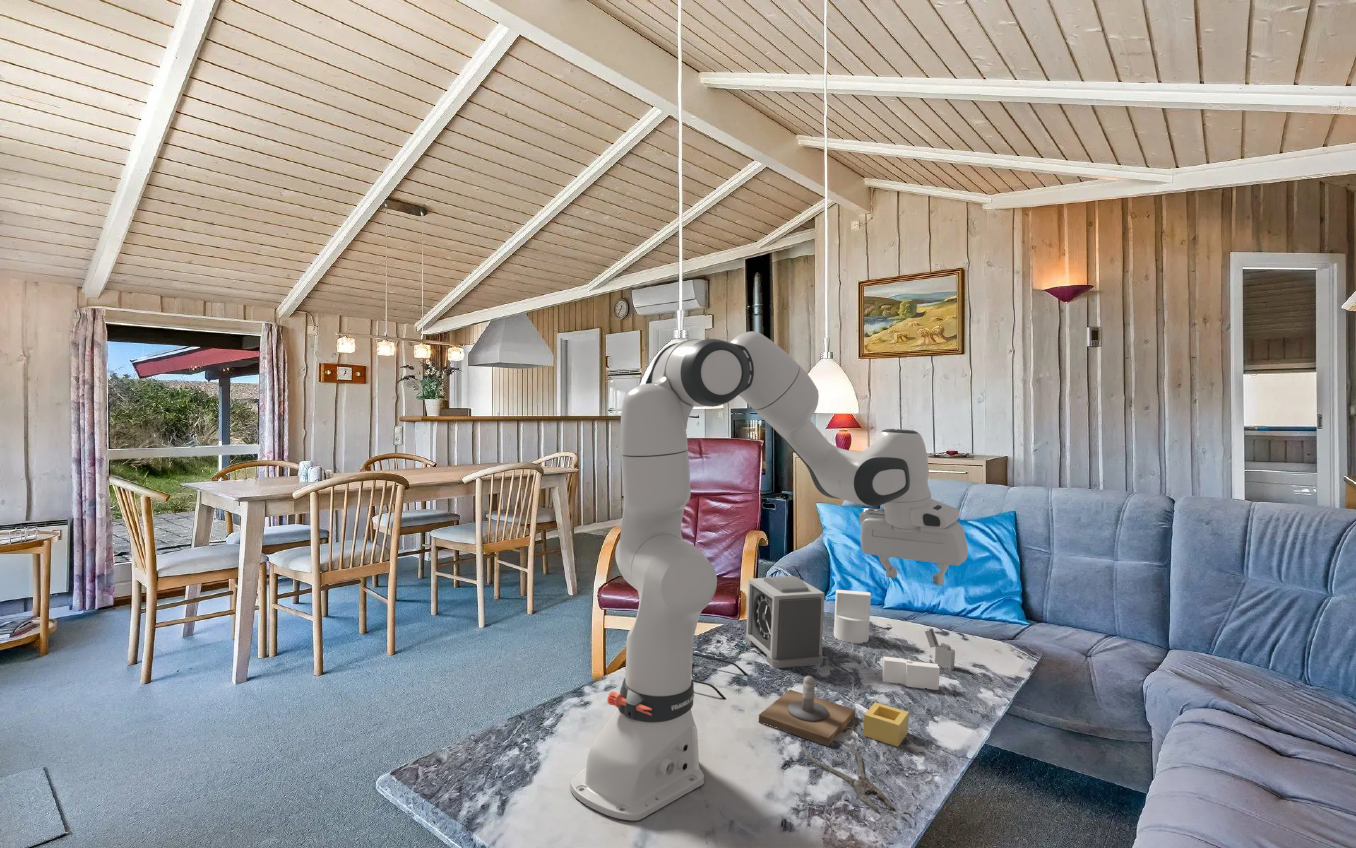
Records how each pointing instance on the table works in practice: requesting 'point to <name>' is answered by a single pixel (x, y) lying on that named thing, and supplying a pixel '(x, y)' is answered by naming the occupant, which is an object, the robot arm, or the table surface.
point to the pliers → (857, 781)
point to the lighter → (941, 651)
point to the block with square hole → (886, 724)
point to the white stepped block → (911, 673)
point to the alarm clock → (785, 620)
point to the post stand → (808, 715)
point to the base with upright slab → (852, 616)
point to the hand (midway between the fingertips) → (914, 580)
